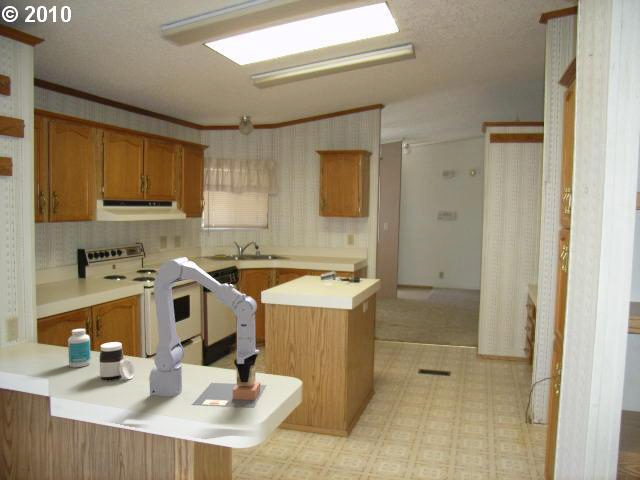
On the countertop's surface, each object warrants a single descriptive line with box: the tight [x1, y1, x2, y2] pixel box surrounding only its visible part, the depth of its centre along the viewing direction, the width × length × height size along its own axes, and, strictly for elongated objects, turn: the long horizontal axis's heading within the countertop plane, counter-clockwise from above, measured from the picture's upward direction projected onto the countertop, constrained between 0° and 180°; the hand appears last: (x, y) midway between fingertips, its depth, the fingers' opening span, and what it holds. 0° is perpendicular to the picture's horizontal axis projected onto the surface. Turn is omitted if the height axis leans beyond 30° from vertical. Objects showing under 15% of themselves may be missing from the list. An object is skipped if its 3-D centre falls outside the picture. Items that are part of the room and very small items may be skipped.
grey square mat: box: [191, 382, 268, 409], centre depth 153 cm, size 19×18×1 cm
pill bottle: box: [67, 328, 92, 368], centre depth 183 cm, size 8×7×14 cm
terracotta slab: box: [233, 381, 261, 400], centre depth 152 cm, size 7×7×3 cm
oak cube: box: [236, 364, 257, 386], centre depth 152 cm, size 5×5×5 cm
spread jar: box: [98, 341, 135, 382], centre depth 170 cm, size 12×11×12 cm
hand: (246, 379), depth 152 cm, fingers closed on oak cube, 4 cm apart
